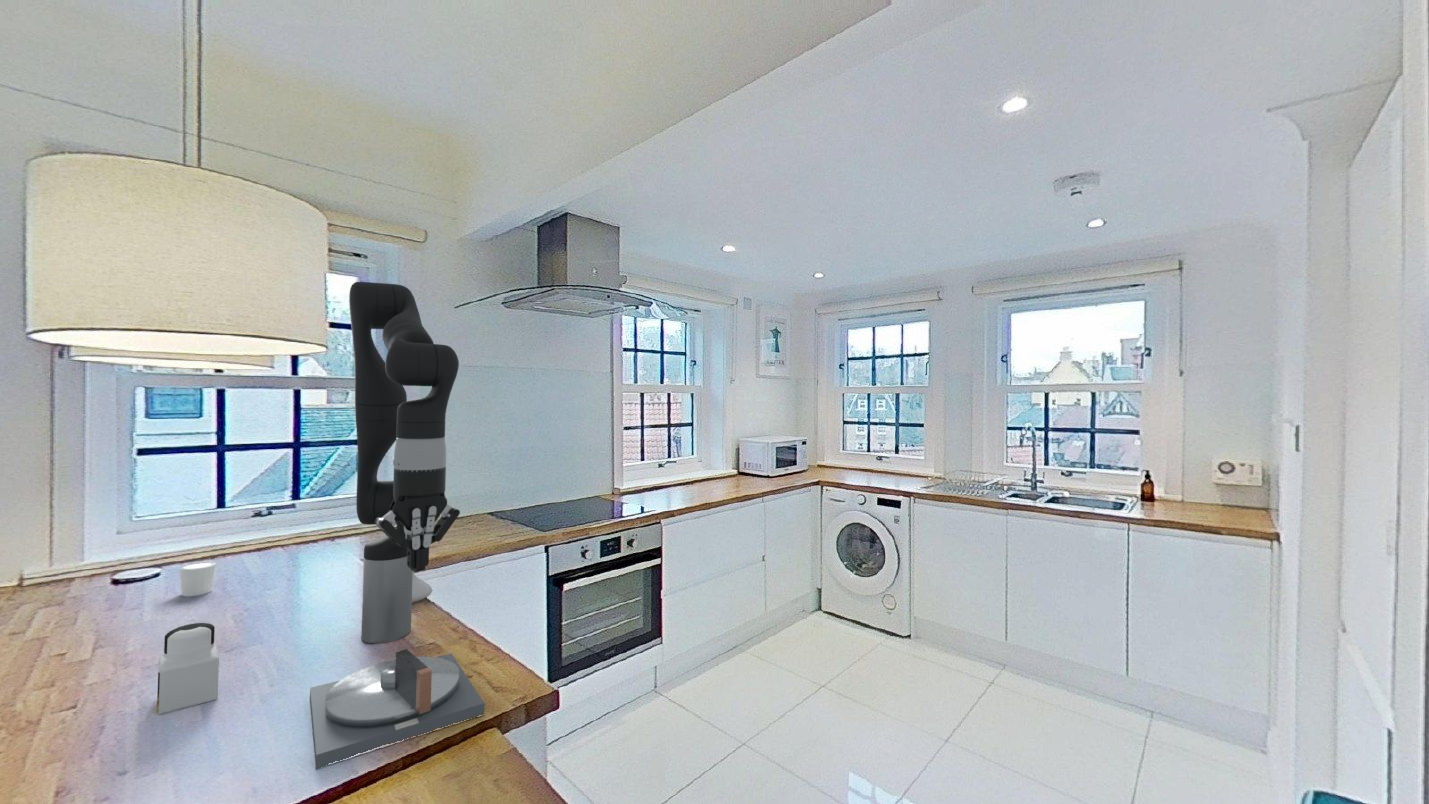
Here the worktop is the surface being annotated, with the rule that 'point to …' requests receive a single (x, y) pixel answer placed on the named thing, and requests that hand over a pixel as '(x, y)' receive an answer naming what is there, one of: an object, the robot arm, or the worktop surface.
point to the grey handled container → (188, 668)
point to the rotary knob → (392, 690)
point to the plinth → (351, 740)
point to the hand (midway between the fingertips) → (417, 569)
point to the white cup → (197, 578)
